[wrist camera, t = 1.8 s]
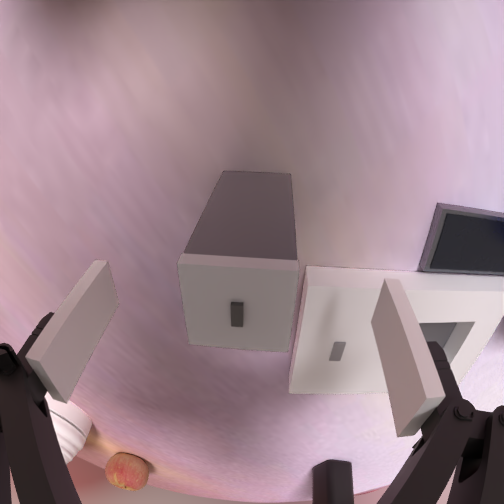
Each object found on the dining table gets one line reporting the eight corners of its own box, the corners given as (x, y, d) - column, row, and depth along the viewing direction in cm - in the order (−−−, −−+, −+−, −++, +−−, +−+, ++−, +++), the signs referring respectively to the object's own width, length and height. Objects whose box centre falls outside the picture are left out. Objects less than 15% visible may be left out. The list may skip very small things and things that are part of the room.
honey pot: (54, 419, 50) (25, 489, 35) (20, 381, 44) (-19, 458, 28) (103, 432, 49) (77, 513, 34) (70, 394, 42) (31, 487, 27)
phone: (437, 202, 21) (443, 209, 20) (530, 218, 21) (536, 224, 20) (419, 264, 24) (423, 271, 23) (510, 269, 24) (515, 275, 23)
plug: (222, 170, 22) (175, 266, 12) (291, 173, 21) (299, 274, 12) (224, 229, 24) (188, 347, 14) (286, 233, 24) (288, 355, 14)
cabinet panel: (306, 265, 25) (308, 287, 23) (504, 275, 24) (516, 292, 22) (289, 374, 33) (288, 394, 30) (451, 369, 31) (458, 387, 29)
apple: (106, 443, 52) (95, 476, 45) (144, 452, 51) (135, 487, 45) (121, 459, 57) (112, 489, 50) (157, 467, 56) (150, 498, 49)
